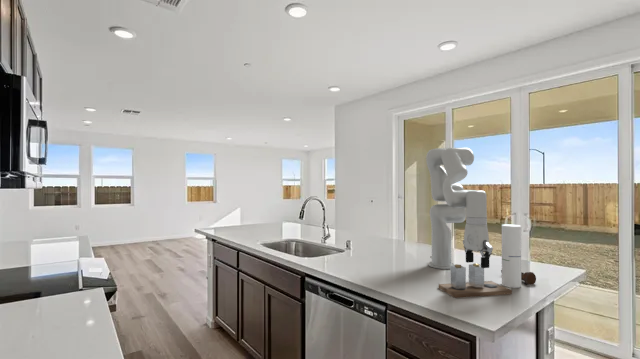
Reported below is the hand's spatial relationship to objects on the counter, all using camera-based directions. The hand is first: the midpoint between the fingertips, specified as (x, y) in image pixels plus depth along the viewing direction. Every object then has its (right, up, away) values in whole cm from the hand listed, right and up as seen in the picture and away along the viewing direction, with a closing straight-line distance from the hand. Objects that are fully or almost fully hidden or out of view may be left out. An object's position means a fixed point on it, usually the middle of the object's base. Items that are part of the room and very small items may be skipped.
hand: (477, 264), depth 134 cm
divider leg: (0, -8, +1) cm, 8 cm away
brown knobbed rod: (+25, -11, +15) cm, 31 cm away
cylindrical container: (+18, -11, +8) cm, 22 cm away
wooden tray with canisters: (-1, -11, +1) cm, 10 cm away
